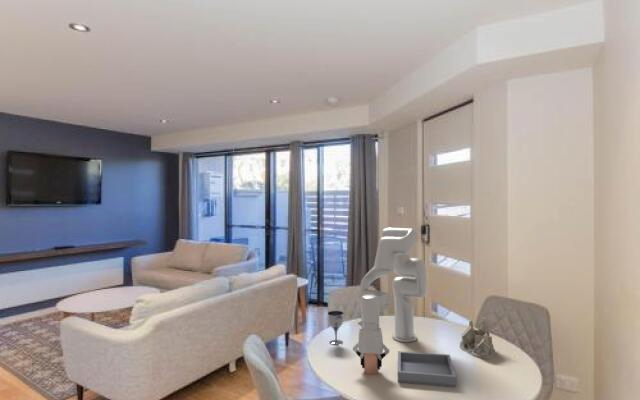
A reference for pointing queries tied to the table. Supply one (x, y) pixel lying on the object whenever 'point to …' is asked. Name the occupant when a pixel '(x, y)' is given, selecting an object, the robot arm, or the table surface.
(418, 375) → the tray
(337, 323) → the wine glass
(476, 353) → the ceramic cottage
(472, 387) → the table surface
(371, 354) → the cup
